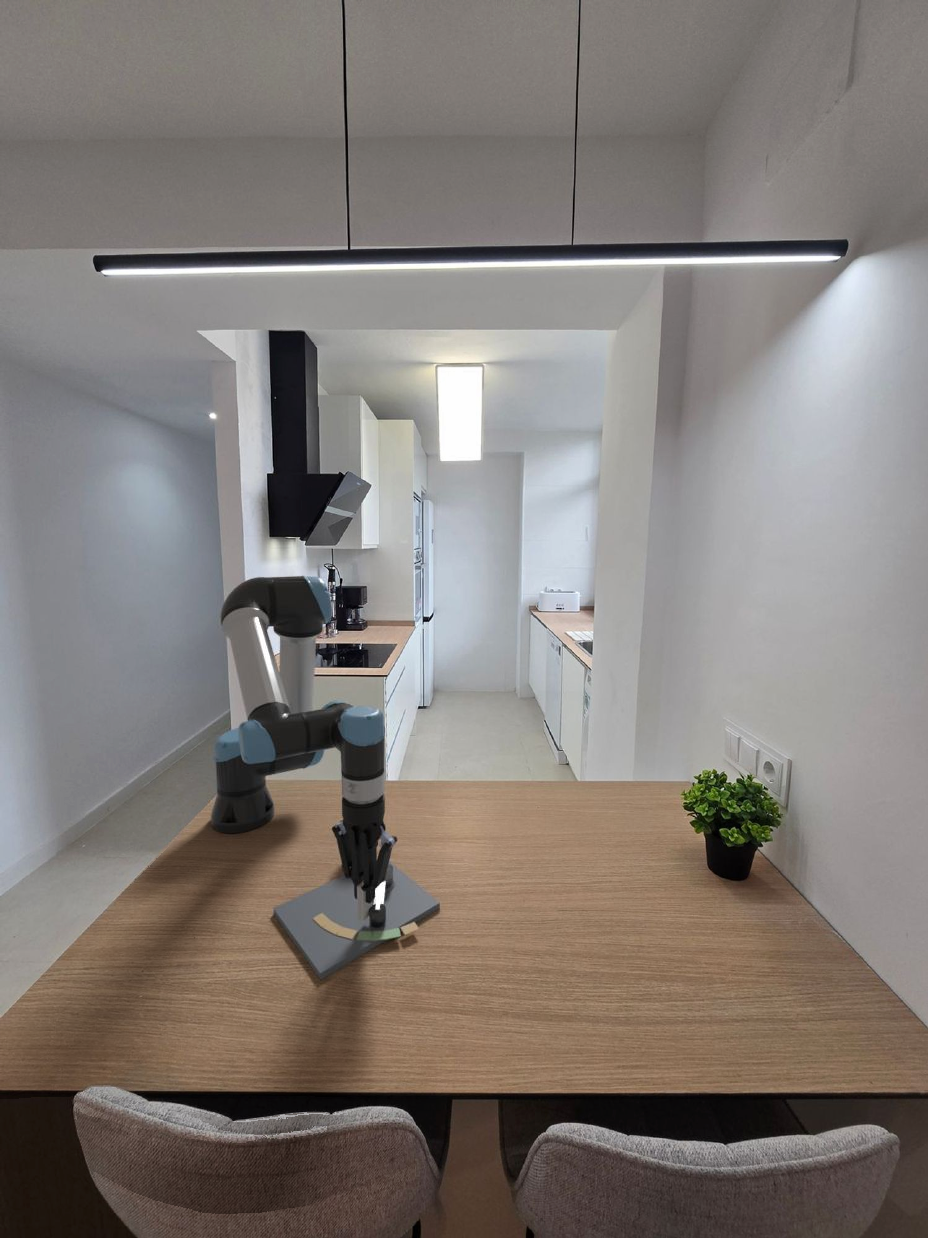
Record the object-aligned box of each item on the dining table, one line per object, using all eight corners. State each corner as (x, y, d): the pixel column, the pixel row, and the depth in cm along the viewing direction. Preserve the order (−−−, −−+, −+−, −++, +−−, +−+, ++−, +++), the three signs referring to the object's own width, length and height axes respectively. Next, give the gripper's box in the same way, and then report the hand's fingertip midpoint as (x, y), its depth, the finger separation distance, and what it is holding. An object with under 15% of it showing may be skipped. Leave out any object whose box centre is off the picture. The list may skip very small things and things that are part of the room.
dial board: (273, 914, 96) (273, 907, 96) (384, 861, 113) (384, 855, 113) (329, 992, 79) (328, 984, 79) (449, 916, 96) (449, 910, 96)
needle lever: (372, 876, 105) (372, 859, 105) (393, 875, 105) (393, 858, 105) (364, 928, 91) (364, 909, 90) (389, 926, 91) (389, 907, 90)
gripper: (320, 795, 88) (323, 917, 91) (381, 813, 83) (382, 941, 86) (347, 778, 95) (349, 892, 98) (405, 793, 90) (405, 913, 93)
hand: (365, 915), depth 92 cm, fingers closed
